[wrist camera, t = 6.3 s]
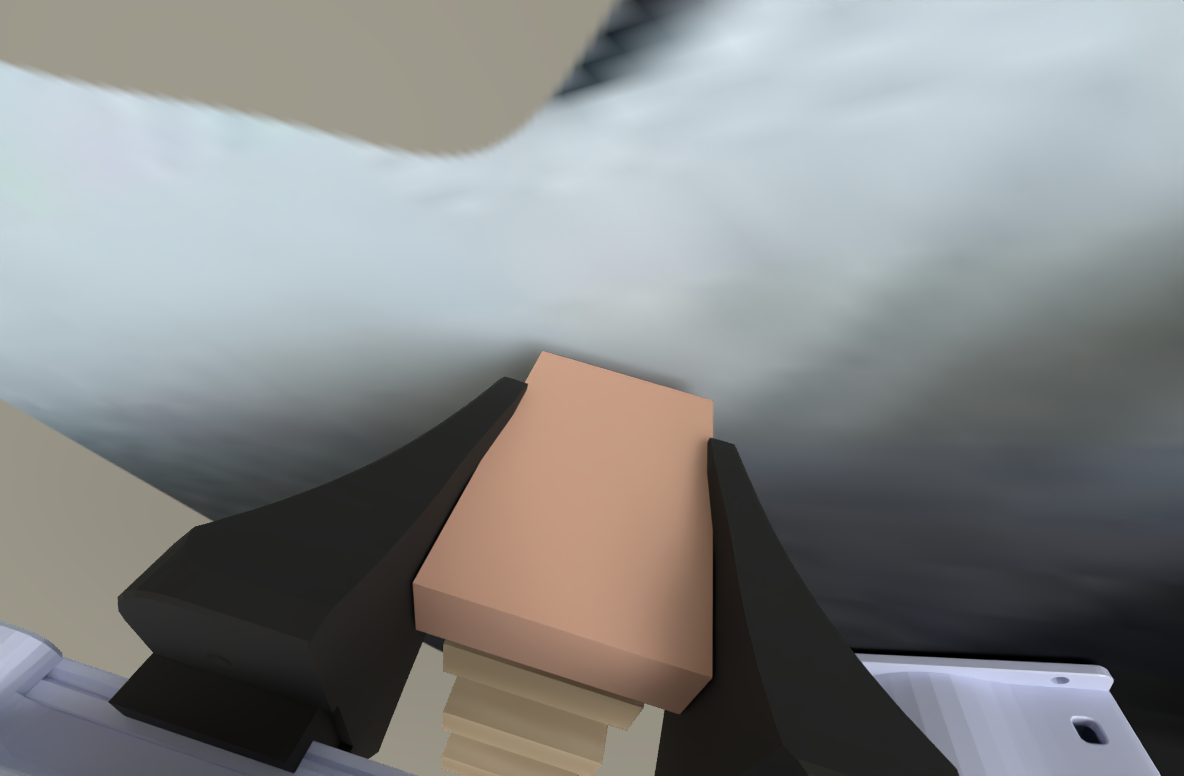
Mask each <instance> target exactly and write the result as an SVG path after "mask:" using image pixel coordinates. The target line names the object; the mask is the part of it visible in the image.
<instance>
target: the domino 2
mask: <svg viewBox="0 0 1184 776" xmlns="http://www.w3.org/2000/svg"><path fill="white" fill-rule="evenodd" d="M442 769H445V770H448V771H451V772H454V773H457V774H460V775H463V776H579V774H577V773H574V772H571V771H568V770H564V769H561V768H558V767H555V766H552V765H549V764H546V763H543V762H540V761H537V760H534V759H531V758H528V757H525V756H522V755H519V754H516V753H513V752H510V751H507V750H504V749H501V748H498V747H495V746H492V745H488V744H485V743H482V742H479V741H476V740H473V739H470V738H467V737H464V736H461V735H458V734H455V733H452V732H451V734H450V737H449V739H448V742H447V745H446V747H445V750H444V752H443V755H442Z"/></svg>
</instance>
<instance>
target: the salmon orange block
mask: <svg viewBox="0 0 1184 776" xmlns="http://www.w3.org/2000/svg"><path fill="white" fill-rule="evenodd" d="M525 383H527V384H528V387H527V390H526V392H525V394H524V396H523V398H522V400H521V402H520V403H519V405H518V407H517V409H516V411H515V413H514V415H513V416H512V417H511V419H510V420H509V422H508V423H507V425H506V426H505V427H504V429H503V430H502V432H501V433H500V434H499V436H498V437H497V439H496V440H495V442H494V443H493V444H492V446H491V447H490V449H489V450H488V451H487V453H486V454H485V456H484V457H483V459H482V460H481V462H480V463H479V465H478V467H477V469H476V471H475V472H474V474H473V476H472V478H471V480H470V481H469V483H468V485H467V487H466V489H465V490H464V492H463V494H462V496H461V497H460V499H459V501H458V503H457V505H456V506H455V508H454V510H453V512H452V514H451V515H450V517H449V519H448V521H447V523H446V524H445V526H444V528H443V530H442V531H441V533H440V535H439V537H438V539H437V540H436V542H435V544H434V546H433V548H432V549H431V551H430V553H429V555H428V557H427V558H426V560H425V562H424V564H423V565H422V567H421V569H420V571H419V573H418V574H417V576H416V578H415V580H414V582H413V594H414V609H415V624H416V630H419V631H422V632H425V633H428V634H431V635H434V636H437V637H440V638H444V639H447V640H450V641H453V642H456V643H459V644H462V645H465V646H468V647H471V648H475V649H478V650H481V651H484V652H487V653H490V654H493V655H496V656H499V657H503V658H506V659H509V660H512V661H515V662H518V663H521V664H524V665H527V666H531V667H534V668H537V669H540V670H543V671H546V672H549V673H552V674H555V675H559V676H562V677H565V678H568V679H571V680H574V681H577V682H580V683H583V684H587V685H590V686H593V687H596V688H599V689H602V690H605V691H608V692H611V693H614V694H618V695H621V696H624V697H627V698H630V699H633V700H636V701H639V702H642V703H646V704H649V705H652V706H655V707H658V708H661V709H664V710H667V711H670V712H674V713H677V714H680V713H681V712H682V711H683V710H684V709H685V708H686V707H687V705H688V704H689V703H690V702H691V701H692V700H693V699H694V698H695V697H696V695H697V694H698V693H699V692H700V691H701V690H702V689H703V688H704V687H705V686H706V684H707V683H708V682H709V681H710V680H711V679H712V623H713V528H712V518H711V508H710V498H709V488H708V478H707V442H708V440H709V438H713V400H710V399H706V398H703V397H699V396H696V395H692V394H689V393H686V392H682V391H679V390H675V389H672V388H668V387H665V386H661V385H658V384H655V383H651V382H648V381H644V380H641V379H637V378H634V377H631V376H627V375H624V374H620V373H617V372H613V371H610V370H607V369H603V368H600V367H596V366H593V365H589V364H586V363H583V362H579V361H576V360H572V359H569V358H565V357H562V356H558V355H555V354H552V353H548V352H545V351H542V352H541V354H540V356H539V358H538V360H537V361H536V363H535V365H534V367H533V369H532V370H531V372H530V374H529V376H528V378H527V379H526V381H525Z"/></svg>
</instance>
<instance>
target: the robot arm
mask: <svg viewBox="0 0 1184 776" xmlns="http://www.w3.org/2000/svg"><path fill="white" fill-rule="evenodd" d="M527 387H528V384H527V383H524V382H521V381H517V380H514V379H510V378H507V377H503V378H501V379H500V380H498V381H497V382H496V383H495V384H494V385H492V386H491V387H490V388H489V389H487V390H486V391H485V392H483V393H482V394H481V395H480V396H478V397H477V398H476V399H474V400H473V401H472V402H470V403H469V404H468V405H466V406H465V407H464V408H462V409H461V410H459V411H458V412H456V413H455V414H454V415H452V416H451V417H449V418H448V419H446V420H445V421H444V422H442V423H441V424H439V425H438V426H436V427H434V428H433V429H431V430H430V431H428V432H426V433H425V434H423V435H422V436H420V437H418V438H417V439H415V440H414V441H412V442H410V443H408V444H407V445H405V446H403V447H401V448H400V449H398V450H396V451H394V452H392V453H391V454H389V455H387V456H385V457H383V458H381V459H379V460H377V461H375V462H373V463H371V464H369V465H367V466H365V467H363V468H360V469H358V470H356V471H354V472H352V473H350V474H347V475H345V476H343V477H341V478H339V479H336V480H334V481H332V482H329V483H327V484H324V485H322V486H319V487H317V488H314V489H311V490H309V491H306V492H303V493H301V494H298V495H295V496H293V497H290V498H287V499H285V500H282V501H279V502H276V503H273V504H270V505H267V506H264V507H261V508H258V509H254V510H251V511H248V512H244V513H241V514H238V515H234V516H231V517H227V518H224V519H221V520H217V521H214V522H210V523H207V524H203V525H199V526H196V527H194V528H193V529H191V530H190V531H189V532H188V533H187V534H185V535H184V536H183V537H182V538H181V539H179V540H178V541H177V542H176V543H174V544H173V545H172V546H171V547H170V548H169V549H168V550H167V551H166V552H165V553H164V554H163V555H162V556H161V557H160V558H159V559H157V560H156V561H155V562H154V563H153V564H152V565H151V566H150V567H149V568H148V569H147V570H146V571H145V572H144V573H143V574H142V575H141V576H139V577H138V578H137V579H136V580H135V581H134V582H133V583H132V584H131V585H130V586H129V587H128V588H127V589H126V590H125V591H124V592H123V593H122V594H120V595H119V596H118V609H119V612H120V614H121V615H122V616H123V618H124V619H125V621H126V622H127V623H128V624H129V625H130V626H131V628H132V629H133V630H134V631H135V632H136V633H137V635H138V636H139V637H140V638H141V639H142V640H143V641H144V643H145V644H146V645H147V646H148V647H149V648H150V649H151V651H152V652H153V654H152V655H151V656H150V657H149V658H148V659H147V660H146V661H145V662H144V663H143V665H142V666H141V667H140V668H139V669H138V670H137V671H136V672H135V673H134V674H133V675H132V676H131V678H130V679H128V678H125V677H122V676H119V675H116V674H113V673H110V672H107V671H104V670H101V669H98V668H95V667H92V666H89V665H86V664H83V663H80V662H77V661H74V660H71V659H68V658H65V657H62V652H61V651H60V650H59V649H58V648H57V647H56V646H55V645H54V644H52V643H51V642H50V641H48V640H47V639H45V638H43V637H41V636H40V635H38V634H36V633H34V632H31V631H28V630H26V629H24V628H20V627H17V626H15V625H12V624H9V623H6V622H3V621H0V776H416V775H414V774H411V773H407V772H405V771H402V770H399V769H396V768H393V767H390V766H387V765H384V764H381V763H378V762H375V761H372V760H369V758H370V757H372V756H373V755H374V754H376V753H377V752H379V749H380V747H381V744H382V741H383V739H384V736H385V734H386V731H387V729H388V726H389V724H390V721H391V718H392V716H393V714H394V711H395V708H396V706H397V703H398V701H399V698H400V696H401V693H402V691H403V688H404V686H405V683H406V681H407V679H408V676H409V674H410V671H411V669H412V666H413V664H414V662H415V659H416V656H417V654H418V652H419V649H420V647H421V644H422V642H423V640H424V637H425V635H426V633H425V632H422V631H419V630H416V624H415V609H414V594H413V582H414V580H415V578H416V576H417V574H418V573H419V571H420V569H421V567H422V565H423V564H424V562H425V560H426V558H427V557H428V555H429V553H430V551H431V549H432V548H433V546H434V544H435V542H436V540H437V539H438V537H439V535H440V533H441V531H442V530H443V528H444V526H445V524H446V523H447V521H448V519H449V517H450V515H451V514H452V512H453V510H454V508H455V506H456V505H457V503H458V501H459V499H460V497H461V496H462V494H463V492H464V490H465V489H466V487H467V485H468V483H469V481H470V480H471V478H472V476H473V474H474V472H475V471H476V469H477V467H478V465H479V463H480V462H481V460H482V459H483V457H484V456H485V454H486V453H487V451H488V450H489V449H490V447H491V446H492V444H493V443H494V442H495V440H496V439H497V437H498V436H499V434H500V433H501V432H502V430H503V429H504V427H505V426H506V425H507V423H508V422H509V420H510V419H511V417H512V416H513V415H514V413H515V411H516V409H517V407H518V405H519V403H520V402H521V400H522V398H523V396H524V394H525V392H526V390H527ZM707 478H708V488H709V498H710V508H711V518H712V528H713V623H712V679H711V680H710V681H709V682H708V683H707V684H706V686H705V687H704V688H703V689H702V690H701V691H700V692H699V693H698V694H697V695H696V697H695V698H694V699H693V700H692V701H691V702H690V703H689V704H688V705H687V707H686V708H685V709H684V710H683V711H682V712H681V713H680V714H677V713H674V712H670V711H667V710H665V711H664V718H663V725H662V731H661V737H660V744H659V751H658V757H657V764H656V770H655V776H1161V775H1160V774H1159V772H1158V770H1157V769H1156V767H1155V766H1154V764H1153V762H1152V761H1151V759H1150V757H1149V756H1148V754H1147V752H1146V751H1145V749H1144V747H1143V746H1142V744H1141V743H1140V741H1139V739H1138V738H1137V736H1136V734H1135V733H1134V731H1133V729H1132V728H1131V726H1130V724H1129V723H1128V721H1127V720H1126V718H1125V716H1124V715H1123V713H1122V711H1121V710H1120V708H1119V706H1118V705H1117V703H1116V702H1115V700H1114V698H1113V697H1112V695H1111V693H1110V692H1108V691H1109V689H1110V688H1111V686H1112V684H1113V678H1112V677H1111V675H1110V673H1109V672H1108V670H1107V669H1105V668H1104V667H1101V666H1098V665H1092V664H1071V663H1050V662H1029V661H1008V660H987V659H966V658H945V657H924V656H903V655H882V654H861V653H854V652H853V651H852V650H851V648H850V647H849V646H848V644H847V643H846V642H845V640H844V639H843V638H842V636H841V635H840V634H839V632H838V631H837V630H836V628H835V627H834V626H833V624H832V623H831V622H830V620H829V619H828V618H827V616H826V615H825V613H824V612H823V610H822V609H821V608H820V606H819V605H818V603H817V602H816V600H815V599H814V597H813V596H812V594H811V593H810V591H809V590H808V588H807V587H806V585H805V584H804V582H803V580H802V579H801V577H800V576H799V574H798V573H797V571H796V569H795V568H794V566H793V564H792V563H791V561H790V559H789V557H788V556H787V554H786V552H785V550H784V548H783V547H782V545H781V543H780V541H779V539H778V538H777V536H776V534H775V532H774V530H773V528H772V526H771V524H770V522H769V520H768V518H767V516H766V514H765V512H764V510H763V508H762V506H761V504H760V501H759V499H758V497H757V495H756V493H755V491H754V488H753V486H752V484H751V481H750V479H749V477H748V475H747V472H746V470H745V468H744V465H743V463H742V461H741V458H740V456H739V453H738V451H737V449H736V447H735V445H734V444H731V443H727V442H724V441H720V440H717V439H714V438H709V440H708V442H707Z"/></svg>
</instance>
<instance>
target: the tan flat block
mask: <svg viewBox="0 0 1184 776" xmlns="http://www.w3.org/2000/svg"><path fill="white" fill-rule="evenodd" d="M607 728H608V725H607V724H604V723H601V722H598V721H594V720H591V719H588V718H585V717H582V716H579V715H576V714H573V713H570V712H567V711H564V710H561V709H558V708H554V707H551V706H548V705H545V704H542V703H539V702H536V701H533V700H530V699H527V698H524V697H521V696H518V695H515V694H511V693H508V692H505V691H502V690H499V689H496V688H493V687H490V686H487V685H484V684H481V683H478V682H475V681H471V680H468V679H465V678H462V677H459V676H457V679H456V681H455V683H454V686H453V688H452V691H451V693H450V696H449V698H448V701H447V703H446V706H445V708H444V710H443V730H446V731H449V732H452V733H455V734H458V735H461V736H464V737H467V738H470V739H473V740H476V741H479V742H482V743H485V744H488V745H492V746H495V747H498V748H501V749H504V750H507V751H510V752H513V753H516V754H519V755H522V756H525V757H528V758H531V759H534V760H537V761H540V762H543V763H546V764H549V765H552V766H555V767H558V768H561V769H564V770H568V771H571V772H574V773H577V774H580V775H583V776H593V775H594V773H595V772H596V771H597V770H598V768H599V767H600V765H601V764H602V760H603V754H604V747H605V741H606V734H607Z"/></svg>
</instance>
